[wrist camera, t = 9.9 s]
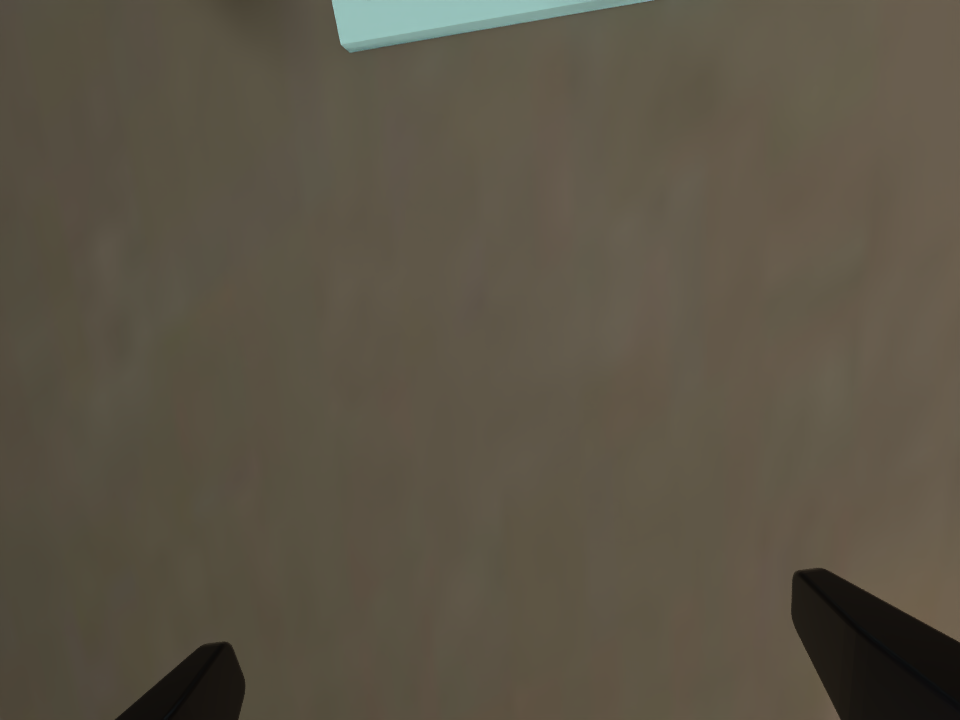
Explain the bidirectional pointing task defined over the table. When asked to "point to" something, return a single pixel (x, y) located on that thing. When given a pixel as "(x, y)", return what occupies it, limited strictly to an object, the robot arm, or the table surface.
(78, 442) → the table surface
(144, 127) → the table surface
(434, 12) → the tray
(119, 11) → the table surface
